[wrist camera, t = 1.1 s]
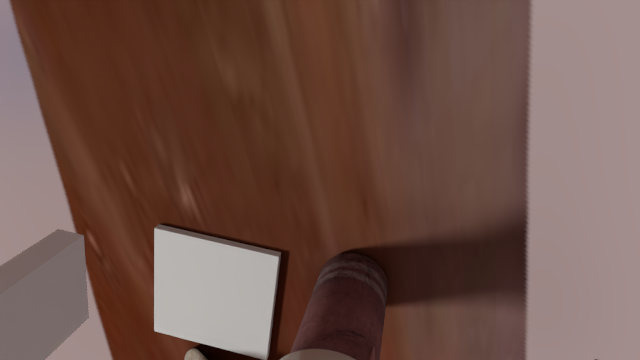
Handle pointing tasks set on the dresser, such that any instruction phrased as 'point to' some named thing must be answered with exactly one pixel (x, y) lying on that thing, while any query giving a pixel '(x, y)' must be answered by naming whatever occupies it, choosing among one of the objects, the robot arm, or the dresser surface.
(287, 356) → the cloche
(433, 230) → the dresser surface
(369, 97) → the dresser surface
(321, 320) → the can
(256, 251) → the mat
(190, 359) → the stone
